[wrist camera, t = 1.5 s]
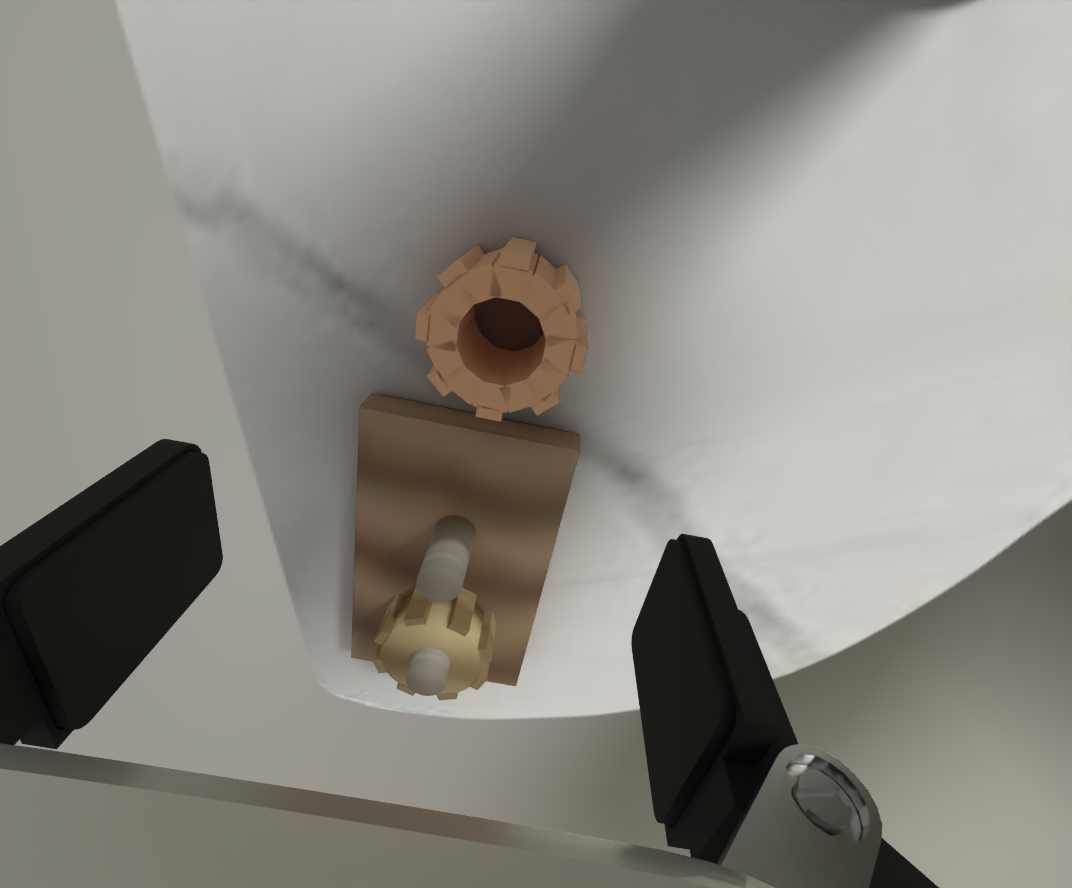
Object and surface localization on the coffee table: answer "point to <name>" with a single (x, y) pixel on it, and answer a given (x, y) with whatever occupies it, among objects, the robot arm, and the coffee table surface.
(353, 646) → the gear board
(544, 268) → the loose gear
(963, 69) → the coffee table surface
